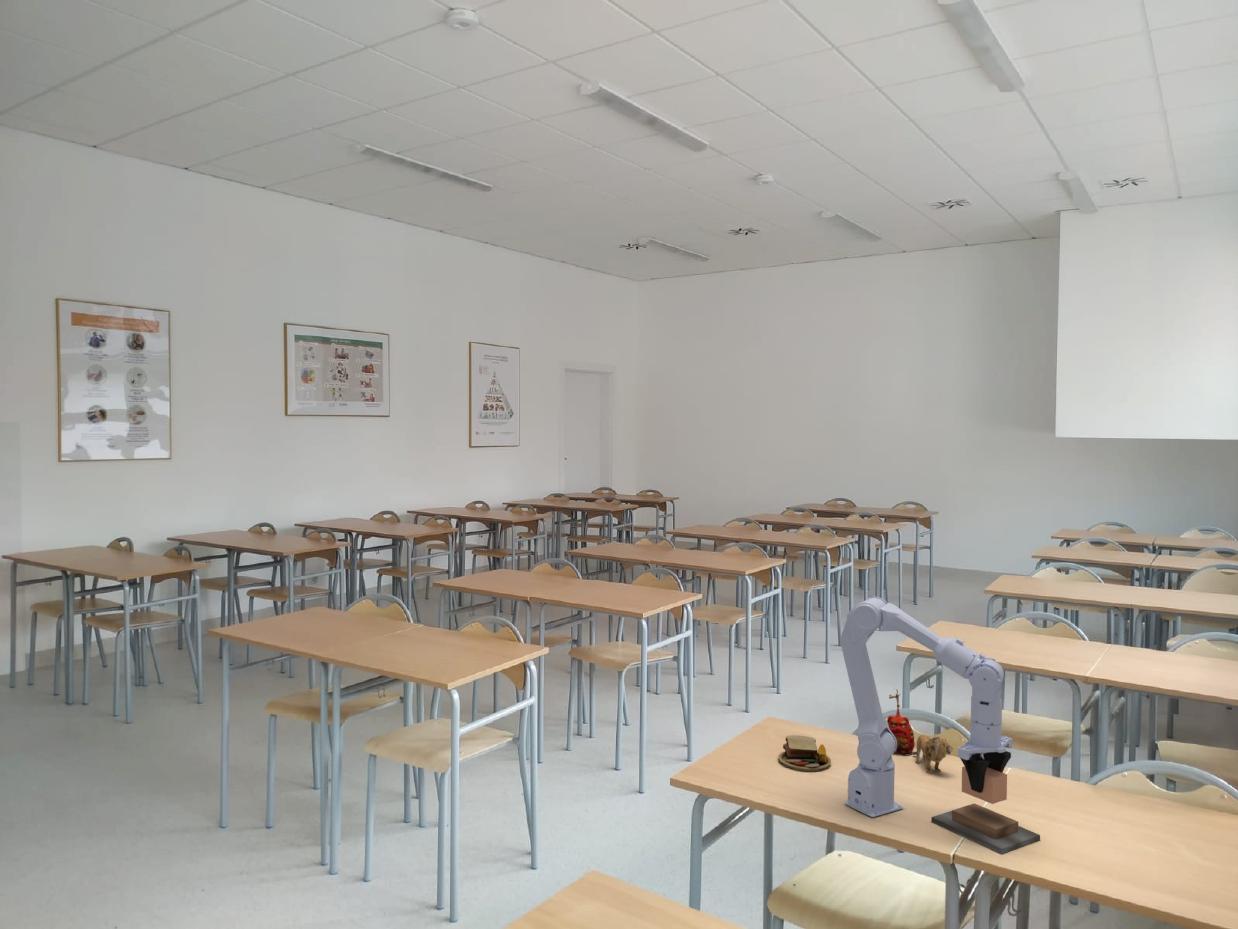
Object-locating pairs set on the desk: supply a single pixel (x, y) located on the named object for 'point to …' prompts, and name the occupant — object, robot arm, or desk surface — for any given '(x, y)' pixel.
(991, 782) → the terracotta brick
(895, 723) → the red clay folk toy
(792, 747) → the toy sandwich meal
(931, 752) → the lion figurine
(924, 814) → the desk surface
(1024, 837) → the tower base
